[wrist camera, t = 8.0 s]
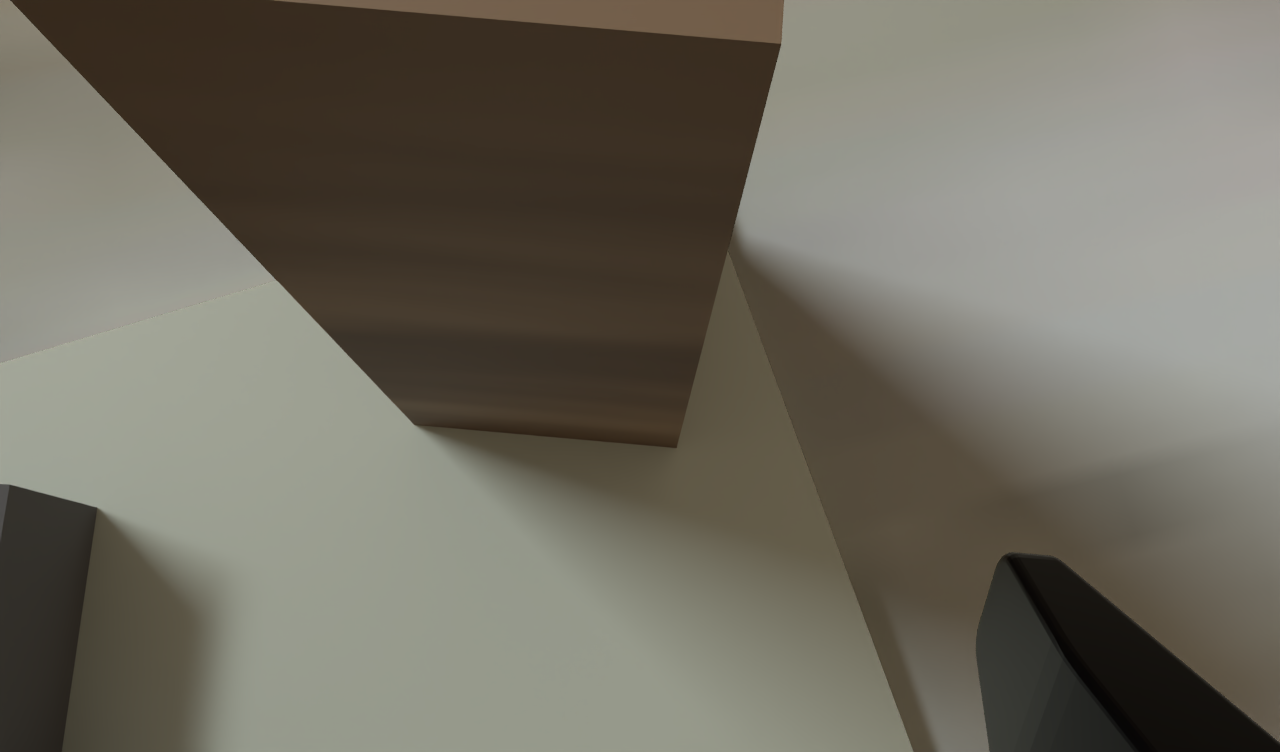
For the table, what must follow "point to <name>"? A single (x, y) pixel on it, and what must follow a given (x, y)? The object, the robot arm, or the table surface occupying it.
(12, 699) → the black rubber block
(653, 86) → the walnut post
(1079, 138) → the table surface
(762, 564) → the sage board
